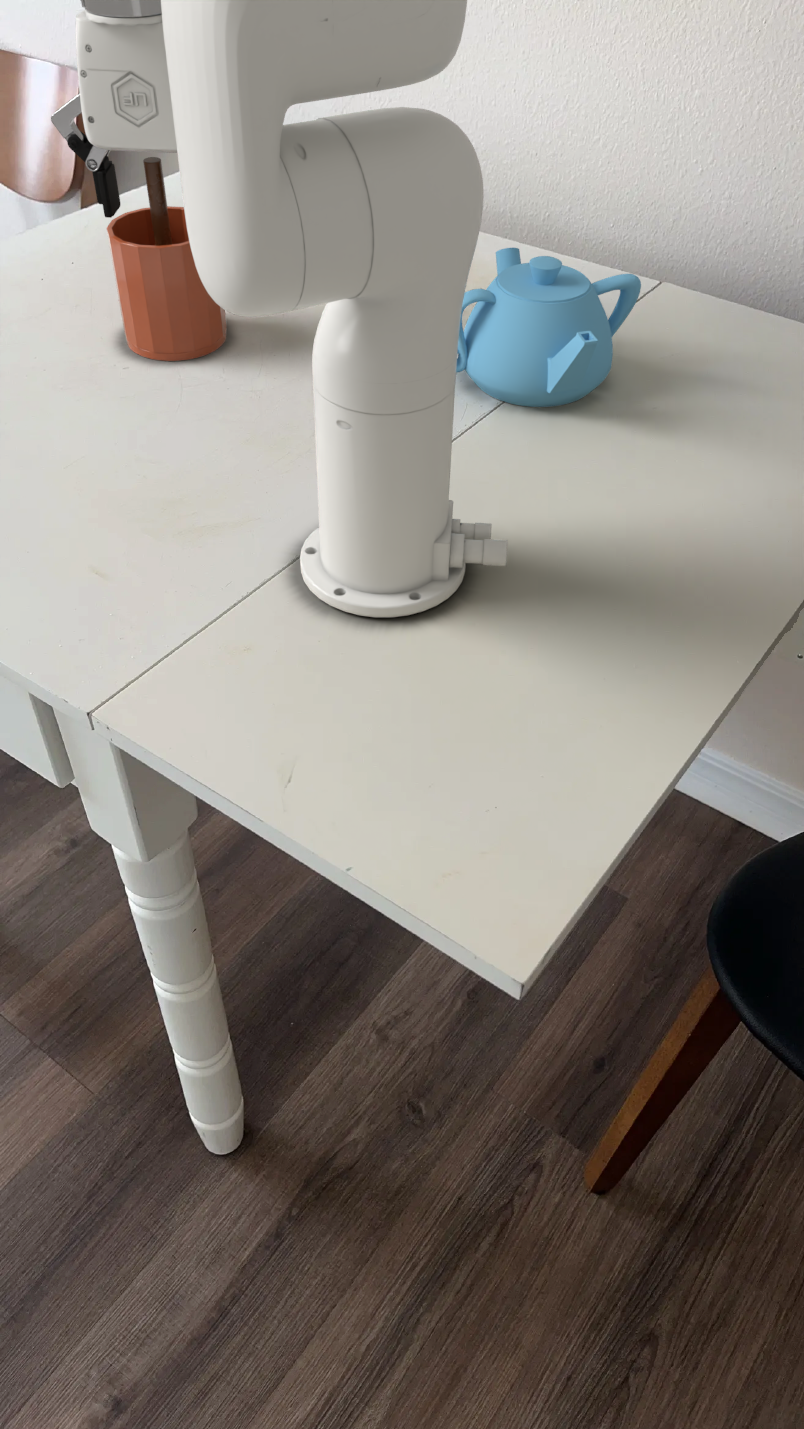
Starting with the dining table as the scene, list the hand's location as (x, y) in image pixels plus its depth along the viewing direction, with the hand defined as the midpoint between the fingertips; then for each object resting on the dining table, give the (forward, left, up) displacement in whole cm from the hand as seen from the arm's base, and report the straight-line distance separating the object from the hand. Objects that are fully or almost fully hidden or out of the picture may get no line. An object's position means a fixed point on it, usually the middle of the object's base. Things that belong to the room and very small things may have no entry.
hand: (160, 213), depth 100 cm
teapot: (-36, +4, -12) cm, 38 cm away
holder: (0, 0, -12) cm, 12 cm away
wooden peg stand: (0, 0, -11) cm, 11 cm away
